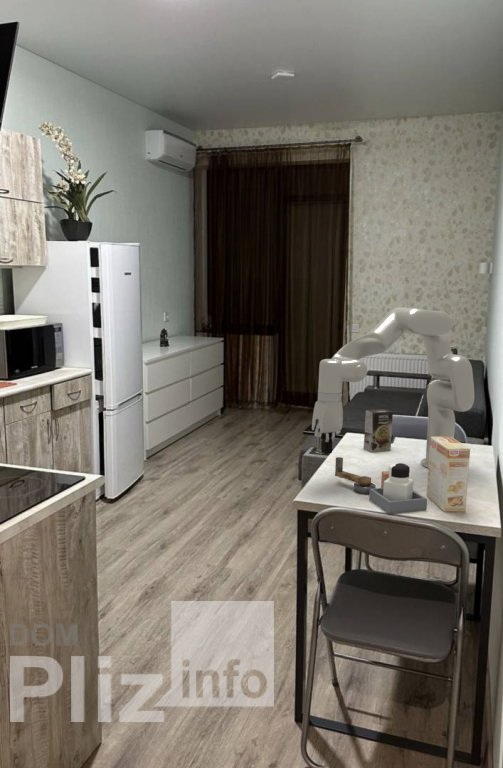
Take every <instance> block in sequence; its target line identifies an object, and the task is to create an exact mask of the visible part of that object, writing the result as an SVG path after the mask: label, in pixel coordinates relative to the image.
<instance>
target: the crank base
mask: <svg viewBox="0 0 503 768" xmlns="http://www.w3.org/2000/svg"><path fill="white" fill-rule="evenodd" d="M372 488H377V486H376V484H375V483H374V482H371V485H370V486H361V485H359V483H357V482H354V483H353V492H354V493H356V494H359V495H366V496H367V495H369V491H370V489H372Z"/></svg>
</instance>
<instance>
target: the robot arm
mask: <svg viewBox="0 0 503 768" xmlns="http://www.w3.org/2000/svg"><path fill="white" fill-rule="evenodd" d="M452 327H453V318H452V317H451V315H450V314H449V313H448V312H446V311H443V310H442V311H441V310H429V309H424V308H423V309H422V308H417V307H415V308H414V307H404V306H402V307H401V306H399V307H395V308H393V309H391V310H390V311H389V312H388V313H387V314H386V315H385V316H384V317H383V318H382V319H380V321H378V322H377V324H376V325H375V326H374V327H373V328H372V329H371V330H370V331H369V332H367V333H365V334H363V335H361V336H358V337H357V338H355V339H352V340H351V341H349V342H347V343H346V344H344V345H343V346H342V347H340V349H339V350H338V351H336V353H334V355H333V356H332V357H331V358H325V359H322V360H320V361H319V366H318V367H319V368H318V389H317V401H315V403H314V407H313V413H312V422H311V430H312V431H313V432H314V437H318V438H319V439H320V440H321V452H322V453H325V454H327V455H328V454H332V452H333V442H334V440H335V437H336V436H337V435H338V434H341V430H342V428H343V421H344V410H343V408H344V407H343V402H342V396H343V393H342V390H343V382H348V383H349V382H350V383H358V382H361V381H363V380H364V379H365V378H366V377H367V375H368V367H367V365H366V363H365V362H363V361H362V359H363V358H366V357H369V356H374V355H379V354H381V353H385V352H387V350H389V349H390V348H391V347H392V346H393V345H394V343H396V342H397V341H398V340H399V339H400V338H401V337H402V336H403V335H404V334H411V335H412V334H413V335H419V336H420V337H421V339H422V340H423V342H424V347H425V353H426V355H425V356H426V363H427V370H428V374H429V375H430V376H431V377H432V378H434V379H438V380H435V381H432V382H431V384H429V386H428V388H427V389H426V390H427V391H426V402H427V409H428V416H427V434H426V447H425V450H426V451H425V458H423V459H421V460H420V464H421V465H422V466H423V467H425V468H427V469H429V454H430V438H431V437H452V438H454V439H455V428H456V415H455V412H454V411H456V412H460V413H461V412H467V411H469V410H471V408H472V407H473V405H474V403H475V387H474V386H475V384H474V373H473V367H472V366H473V365H472V363H471V362H470V361H469V359H468V358H467V357H465V356H463V355H460V354H454V353H453V352H452V348H451V341H450V337H449V333H450V331H451V330H452Z"/></svg>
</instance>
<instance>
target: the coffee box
mask: <svg viewBox="0 0 503 768" xmlns="http://www.w3.org/2000/svg"><path fill="white" fill-rule="evenodd" d="M393 413H394V412H393V411H392V410H389V409H385V408H379V409H366V410H365V419H364V420H365V421H364V435H363V436H364V437H363V439H364V440H363V450H365V451H368V452H370V453H380V452H382V453H383V452H389V451H391V450H392V449H391V446H392V444H391V435H393V434H392V431H393V415H394V414H393Z"/></svg>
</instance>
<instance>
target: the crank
mask: <svg viewBox="0 0 503 768" xmlns="http://www.w3.org/2000/svg"><path fill="white" fill-rule="evenodd" d="M343 466H344V457H340V456H336V457H335V468H334V469H335V473H334V475H335V477H337V478H342V479H344V480H347V481H351V482H354V483H356V482H357V483H359V485H361V486H370V485H371V483H372V477H371V476H364V475H363V476H362V475H357V474H354V473H351V472H348V471H344V470H343Z"/></svg>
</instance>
